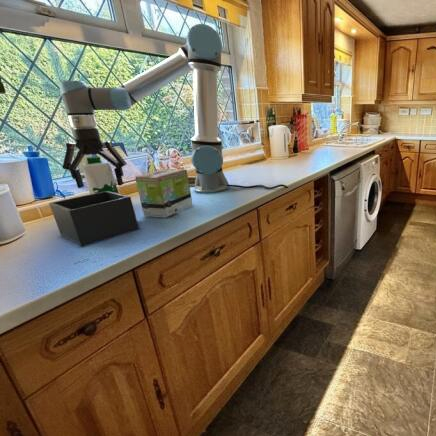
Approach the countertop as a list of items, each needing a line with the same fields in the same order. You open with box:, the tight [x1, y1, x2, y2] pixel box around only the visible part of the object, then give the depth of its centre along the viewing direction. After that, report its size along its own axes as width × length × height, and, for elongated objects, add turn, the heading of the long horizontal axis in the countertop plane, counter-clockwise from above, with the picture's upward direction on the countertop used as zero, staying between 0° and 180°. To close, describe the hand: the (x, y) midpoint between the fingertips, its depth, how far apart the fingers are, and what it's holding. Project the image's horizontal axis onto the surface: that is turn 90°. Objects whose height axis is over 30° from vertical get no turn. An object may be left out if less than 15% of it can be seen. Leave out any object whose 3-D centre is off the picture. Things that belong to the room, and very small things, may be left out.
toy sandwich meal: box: [188, 175, 196, 187], centre depth 155 cm, size 12×14×5 cm
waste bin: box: [48, 191, 140, 248], centre depth 93 cm, size 16×16×11 cm
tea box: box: [134, 168, 194, 219], centre depth 111 cm, size 15×10×15 cm
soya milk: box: [81, 156, 120, 195], centre depth 115 cm, size 9×9×20 cm
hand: (101, 186), depth 115 cm, fingers open, 13 cm apart
